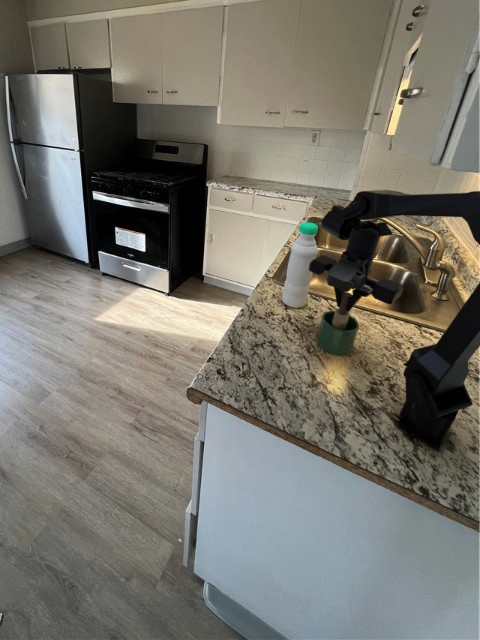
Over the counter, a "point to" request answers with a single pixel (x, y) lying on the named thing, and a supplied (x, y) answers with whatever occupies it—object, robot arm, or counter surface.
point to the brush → (342, 312)
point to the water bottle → (300, 266)
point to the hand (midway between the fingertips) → (343, 308)
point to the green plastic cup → (337, 335)
